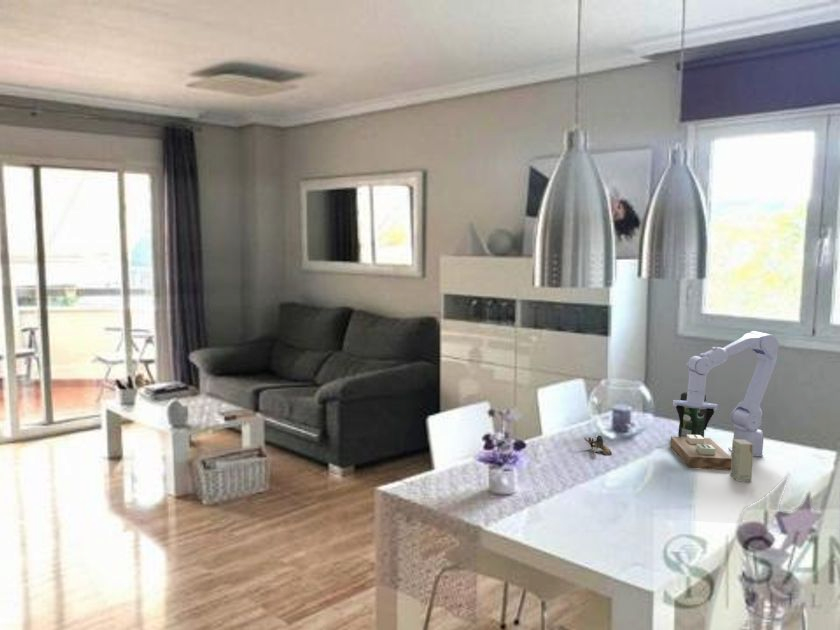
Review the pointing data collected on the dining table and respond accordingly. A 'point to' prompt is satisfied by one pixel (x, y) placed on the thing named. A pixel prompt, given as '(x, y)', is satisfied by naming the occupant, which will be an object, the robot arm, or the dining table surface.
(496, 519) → the dining table surface
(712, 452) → the sage button
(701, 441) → the cream button
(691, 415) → the coffee jar
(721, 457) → the board
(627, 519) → the dining table surface
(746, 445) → the skincare box
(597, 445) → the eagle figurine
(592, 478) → the dining table surface
